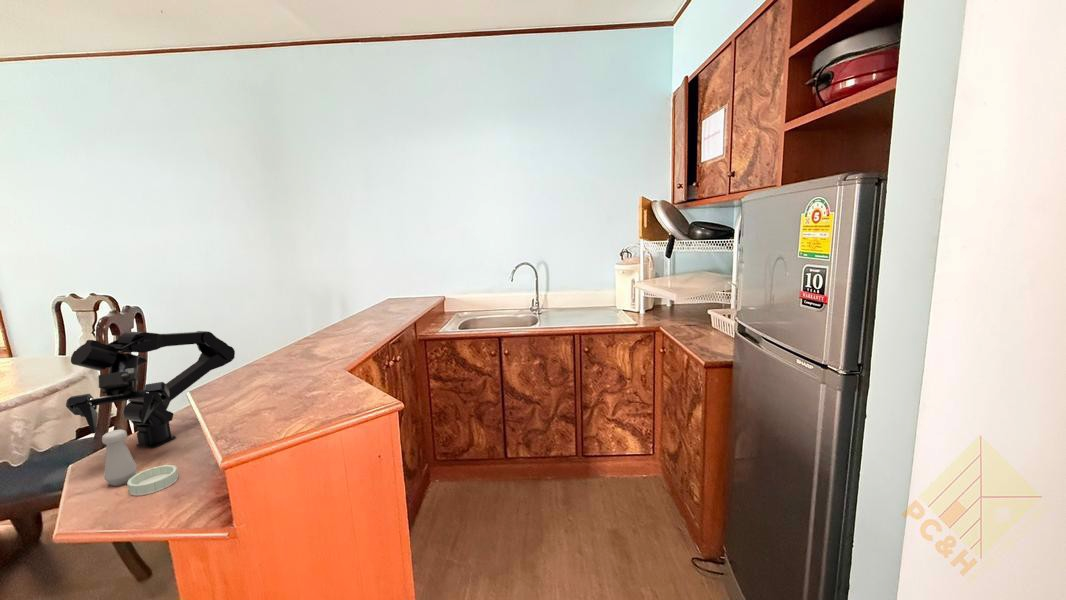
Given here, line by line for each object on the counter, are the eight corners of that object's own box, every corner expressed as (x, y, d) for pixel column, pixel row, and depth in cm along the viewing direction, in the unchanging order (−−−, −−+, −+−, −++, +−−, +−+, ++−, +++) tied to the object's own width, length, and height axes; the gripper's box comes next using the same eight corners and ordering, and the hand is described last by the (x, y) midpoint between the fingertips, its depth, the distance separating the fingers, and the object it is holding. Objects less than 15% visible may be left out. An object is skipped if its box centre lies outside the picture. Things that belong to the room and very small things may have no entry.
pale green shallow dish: (158, 473, 107) (156, 463, 106) (187, 475, 105) (185, 466, 105) (119, 493, 98) (117, 484, 98) (149, 497, 97) (148, 487, 96)
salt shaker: (118, 489, 100) (108, 438, 98) (99, 487, 101) (89, 436, 99) (145, 475, 106) (136, 427, 104) (127, 473, 107) (118, 425, 105)
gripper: (60, 366, 103) (50, 425, 96) (159, 353, 113) (157, 405, 105) (79, 387, 111) (71, 442, 104) (170, 373, 121) (169, 423, 113)
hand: (118, 427), depth 106 cm, fingers open, 9 cm apart
